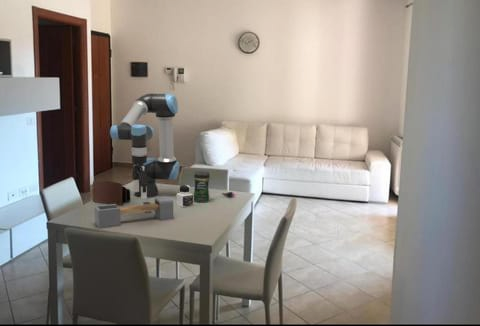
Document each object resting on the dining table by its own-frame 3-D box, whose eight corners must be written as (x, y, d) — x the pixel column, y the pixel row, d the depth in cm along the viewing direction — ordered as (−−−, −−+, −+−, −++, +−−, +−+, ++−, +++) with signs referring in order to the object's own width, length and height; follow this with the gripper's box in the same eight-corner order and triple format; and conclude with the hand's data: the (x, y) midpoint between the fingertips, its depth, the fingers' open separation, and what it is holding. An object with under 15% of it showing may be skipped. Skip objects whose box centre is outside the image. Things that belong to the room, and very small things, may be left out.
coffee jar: (192, 202, 279) (193, 172, 275) (194, 199, 286) (194, 170, 283) (208, 203, 278) (209, 173, 275) (209, 199, 286) (210, 170, 283)
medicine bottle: (182, 207, 267) (183, 187, 265) (176, 205, 272) (176, 185, 270) (193, 205, 272) (193, 186, 269) (186, 203, 277) (186, 183, 275)
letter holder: (121, 206, 267) (121, 182, 264) (92, 202, 273) (91, 179, 270) (130, 202, 276) (130, 179, 274) (102, 198, 282) (101, 176, 279)
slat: (112, 213, 236) (112, 208, 236) (164, 207, 250) (164, 202, 249) (114, 215, 233) (113, 210, 232) (166, 209, 246) (166, 204, 246)
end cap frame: (95, 223, 235) (94, 203, 234) (167, 214, 254) (167, 196, 252) (98, 228, 228) (98, 208, 226) (173, 218, 246) (173, 200, 244)
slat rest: (107, 215, 249) (107, 206, 248) (148, 210, 260) (148, 201, 259) (109, 217, 245) (109, 208, 244) (151, 212, 256) (151, 204, 255)
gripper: (125, 151, 245) (126, 190, 249) (139, 160, 223) (139, 202, 227) (139, 150, 248) (140, 188, 252) (154, 158, 227) (154, 200, 231)
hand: (140, 195), depth 240 cm, fingers open, 13 cm apart
